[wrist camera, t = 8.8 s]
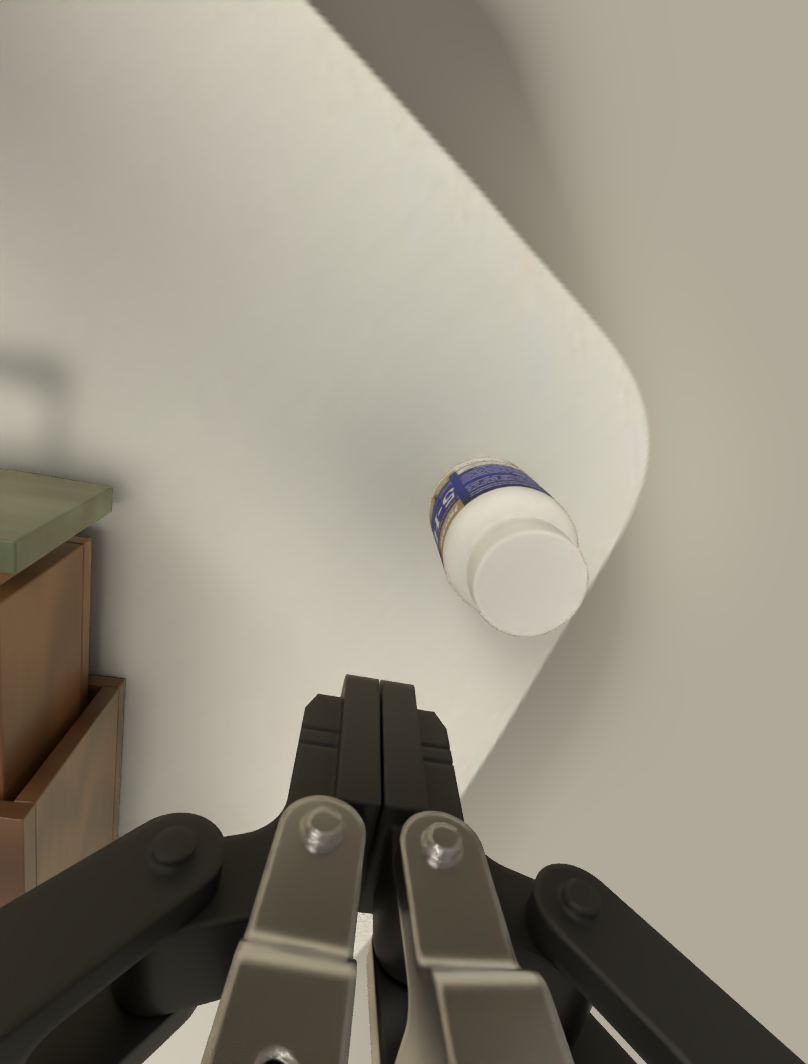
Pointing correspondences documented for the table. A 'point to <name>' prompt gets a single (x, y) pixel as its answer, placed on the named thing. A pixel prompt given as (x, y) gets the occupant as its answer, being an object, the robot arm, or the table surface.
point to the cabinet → (67, 797)
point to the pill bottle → (508, 547)
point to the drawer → (43, 616)
